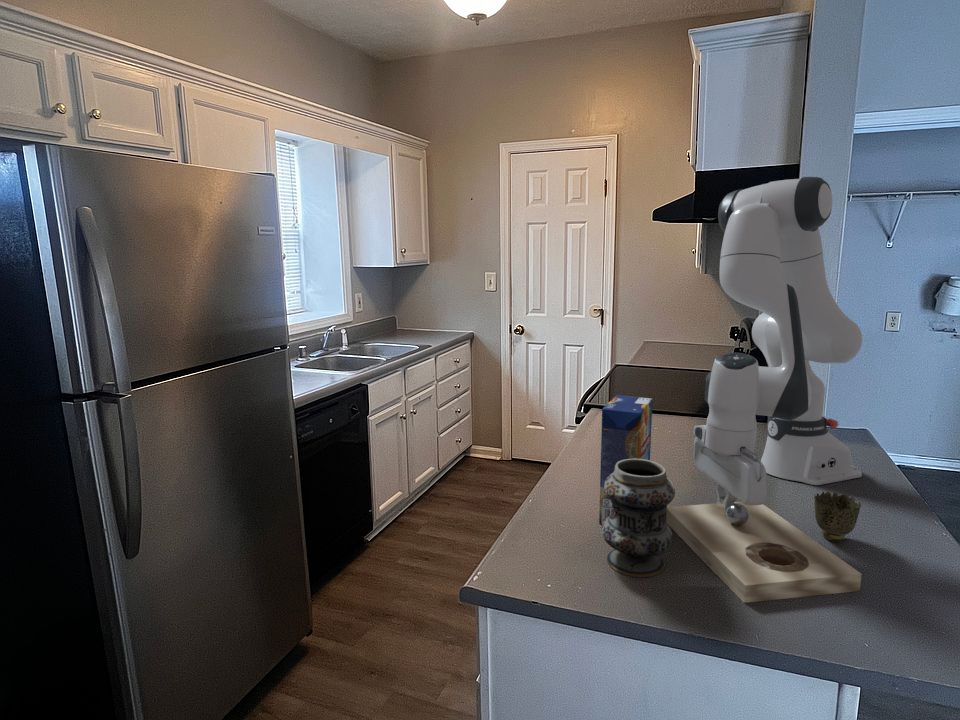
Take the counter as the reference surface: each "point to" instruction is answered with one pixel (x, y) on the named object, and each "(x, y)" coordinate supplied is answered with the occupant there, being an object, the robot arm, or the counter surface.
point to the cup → (836, 515)
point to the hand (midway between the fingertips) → (725, 507)
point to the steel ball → (737, 514)
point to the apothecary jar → (638, 517)
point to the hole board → (761, 554)
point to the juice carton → (623, 438)
